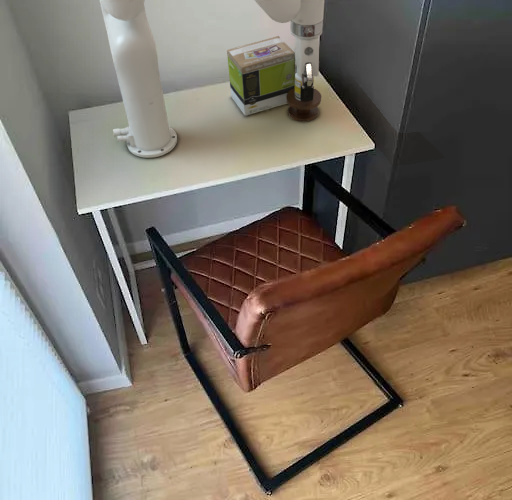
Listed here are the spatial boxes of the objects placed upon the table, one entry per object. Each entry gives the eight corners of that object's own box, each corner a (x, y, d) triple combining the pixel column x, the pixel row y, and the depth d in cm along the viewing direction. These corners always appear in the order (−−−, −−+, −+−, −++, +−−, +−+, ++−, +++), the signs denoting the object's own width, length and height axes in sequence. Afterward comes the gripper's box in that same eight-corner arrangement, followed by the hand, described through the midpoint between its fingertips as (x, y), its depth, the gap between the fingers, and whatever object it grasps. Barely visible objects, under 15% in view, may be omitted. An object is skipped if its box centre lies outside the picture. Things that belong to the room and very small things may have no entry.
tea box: (279, 83, 162) (279, 34, 150) (295, 102, 155) (297, 52, 144) (229, 97, 158) (226, 47, 147) (244, 117, 152) (241, 67, 141)
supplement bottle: (314, 91, 150) (315, 62, 143) (311, 102, 147) (313, 73, 140) (295, 90, 151) (296, 61, 144) (293, 100, 148) (293, 71, 141)
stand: (288, 124, 149) (288, 107, 146) (284, 103, 155) (284, 87, 152) (322, 121, 150) (324, 105, 146) (317, 101, 156) (318, 85, 152)
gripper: (328, 43, 129) (323, 108, 142) (317, 6, 140) (313, 69, 153) (295, 45, 128) (293, 110, 141) (286, 8, 140) (285, 71, 153)
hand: (303, 89), depth 147 cm, fingers open, 9 cm apart
